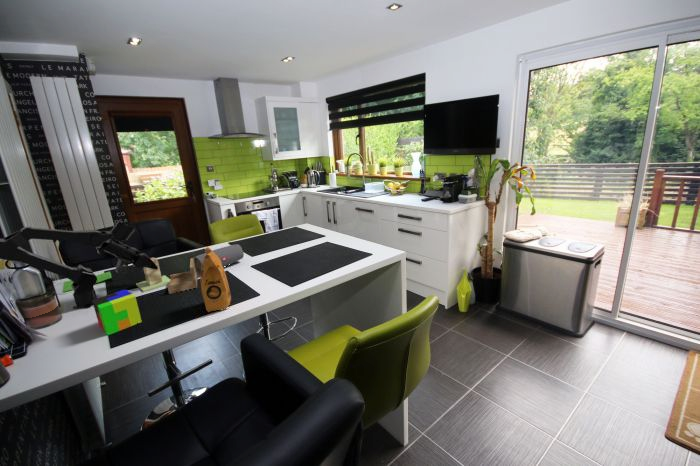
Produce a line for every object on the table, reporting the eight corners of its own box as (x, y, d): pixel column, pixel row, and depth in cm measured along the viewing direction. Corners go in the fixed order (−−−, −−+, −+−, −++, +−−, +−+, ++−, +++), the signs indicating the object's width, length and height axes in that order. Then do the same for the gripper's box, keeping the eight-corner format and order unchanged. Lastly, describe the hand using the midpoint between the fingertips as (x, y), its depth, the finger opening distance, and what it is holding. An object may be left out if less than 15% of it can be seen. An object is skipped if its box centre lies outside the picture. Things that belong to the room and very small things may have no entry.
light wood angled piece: (169, 294, 133) (164, 271, 130) (171, 282, 144) (167, 262, 142) (197, 288, 137) (192, 266, 134) (197, 277, 148) (193, 257, 146)
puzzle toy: (132, 313, 118) (125, 289, 115) (141, 322, 112) (135, 296, 109) (99, 325, 110) (91, 300, 108) (107, 335, 104) (100, 308, 102)
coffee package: (202, 315, 114) (191, 258, 108) (205, 300, 125) (195, 248, 119) (231, 309, 117) (222, 253, 111) (231, 295, 128) (223, 244, 122)
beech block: (150, 286, 140) (144, 262, 137) (146, 283, 144) (141, 260, 141) (162, 282, 144) (157, 259, 141) (158, 279, 147) (153, 257, 144)
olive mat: (143, 292, 136) (143, 290, 136) (136, 284, 144) (135, 283, 144) (173, 282, 144) (173, 281, 144) (164, 276, 152) (164, 275, 152)
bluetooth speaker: (204, 277, 148) (200, 257, 146) (194, 273, 154) (190, 254, 151) (245, 262, 166) (243, 244, 163) (235, 259, 171) (232, 242, 169)
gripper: (101, 261, 136) (136, 277, 146) (111, 271, 123) (149, 287, 134) (118, 240, 139) (151, 256, 150) (129, 247, 127) (165, 264, 137)
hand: (154, 266), depth 143 cm, fingers open, 9 cm apart
